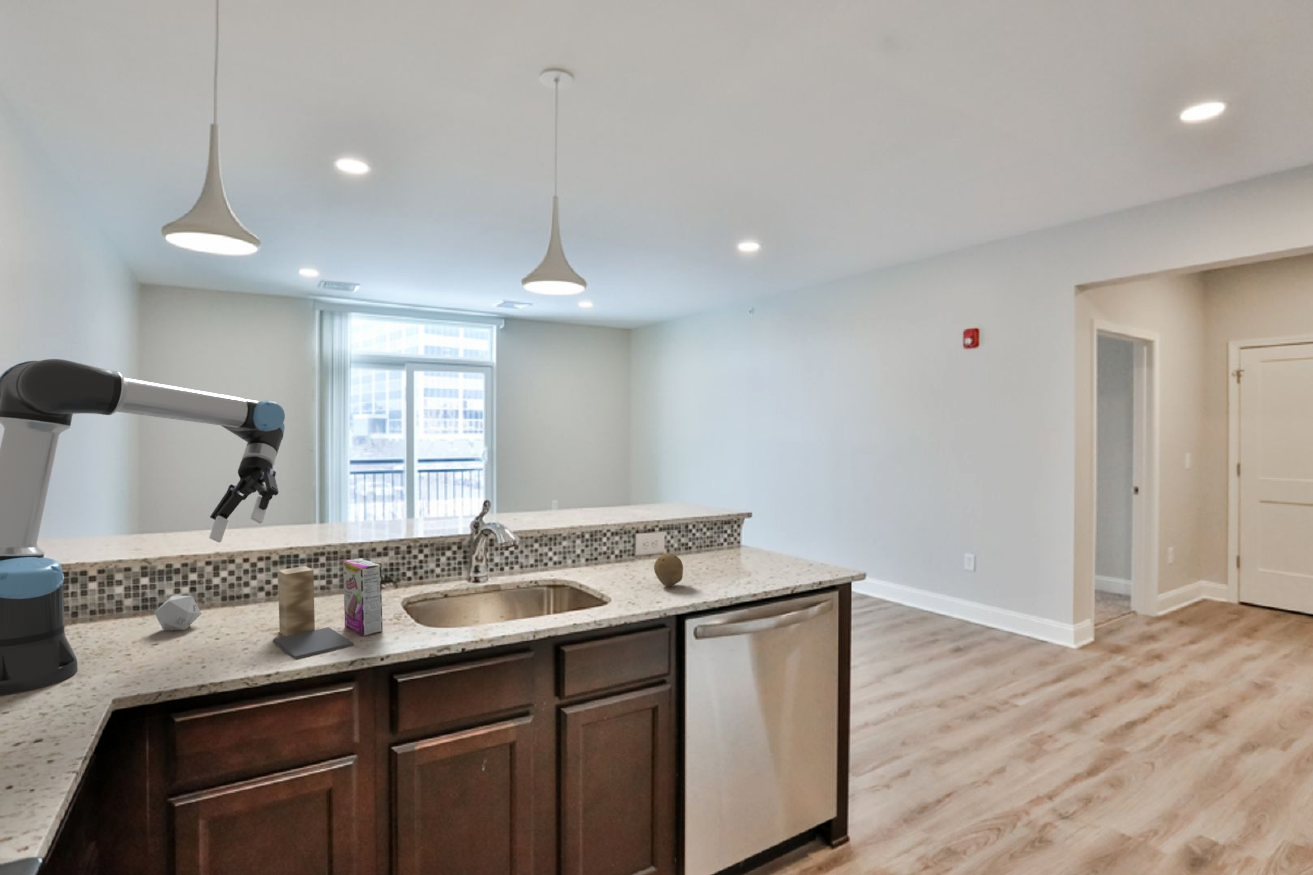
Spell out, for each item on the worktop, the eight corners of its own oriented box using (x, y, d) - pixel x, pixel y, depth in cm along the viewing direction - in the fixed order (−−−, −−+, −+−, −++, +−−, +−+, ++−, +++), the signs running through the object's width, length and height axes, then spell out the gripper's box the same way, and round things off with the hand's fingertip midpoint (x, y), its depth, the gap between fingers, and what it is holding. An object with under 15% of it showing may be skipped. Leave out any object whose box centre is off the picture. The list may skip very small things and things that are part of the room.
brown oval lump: (657, 581, 203) (657, 549, 203) (686, 582, 202) (685, 550, 201) (651, 589, 194) (651, 555, 194) (681, 590, 193) (681, 556, 192)
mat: (295, 659, 140) (295, 656, 140) (273, 641, 151) (273, 638, 151) (353, 645, 148) (353, 642, 148) (328, 629, 159) (328, 626, 159)
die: (165, 639, 155) (194, 603, 158) (138, 619, 157) (167, 584, 159) (188, 640, 163) (215, 606, 166) (162, 622, 164) (190, 588, 167)
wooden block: (287, 637, 153) (285, 574, 153) (279, 632, 158) (278, 570, 157) (314, 631, 158) (313, 569, 157) (306, 626, 162) (305, 566, 161)
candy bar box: (343, 627, 161) (341, 560, 161) (363, 622, 165) (362, 557, 164) (362, 637, 154) (360, 567, 153) (383, 631, 157) (382, 563, 157)
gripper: (304, 454, 175) (286, 519, 161) (234, 488, 181) (211, 553, 167) (281, 438, 170) (260, 504, 156) (210, 474, 176) (184, 541, 162)
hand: (235, 530), depth 161 cm, fingers open, 13 cm apart
